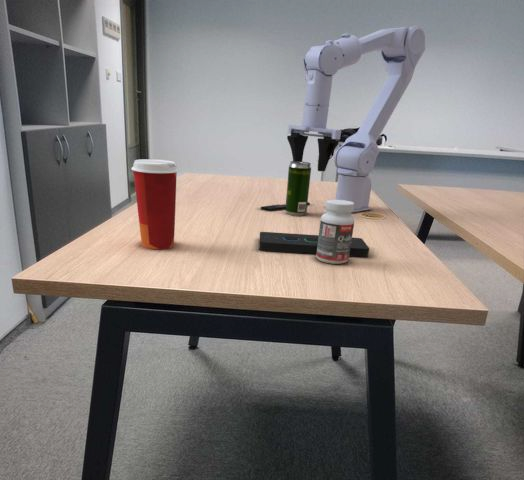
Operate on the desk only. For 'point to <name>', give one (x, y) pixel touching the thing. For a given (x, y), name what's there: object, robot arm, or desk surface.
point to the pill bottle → (335, 232)
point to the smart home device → (303, 244)
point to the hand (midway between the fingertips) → (309, 168)
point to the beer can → (298, 188)
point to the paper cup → (156, 201)
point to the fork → (276, 207)
